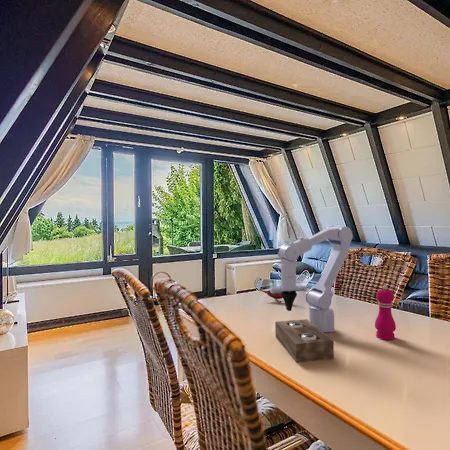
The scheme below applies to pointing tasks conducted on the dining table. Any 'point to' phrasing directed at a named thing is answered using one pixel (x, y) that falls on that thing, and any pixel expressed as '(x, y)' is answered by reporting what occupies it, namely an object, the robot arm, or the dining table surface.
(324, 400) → the dining table surface
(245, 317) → the dining table surface
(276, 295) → the decorative bird figurine
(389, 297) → the pepper mill
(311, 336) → the knob
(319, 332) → the housing
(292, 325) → the knob
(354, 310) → the dining table surface
